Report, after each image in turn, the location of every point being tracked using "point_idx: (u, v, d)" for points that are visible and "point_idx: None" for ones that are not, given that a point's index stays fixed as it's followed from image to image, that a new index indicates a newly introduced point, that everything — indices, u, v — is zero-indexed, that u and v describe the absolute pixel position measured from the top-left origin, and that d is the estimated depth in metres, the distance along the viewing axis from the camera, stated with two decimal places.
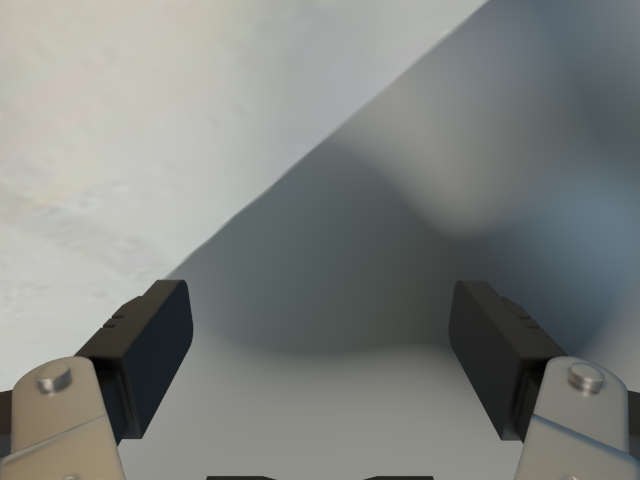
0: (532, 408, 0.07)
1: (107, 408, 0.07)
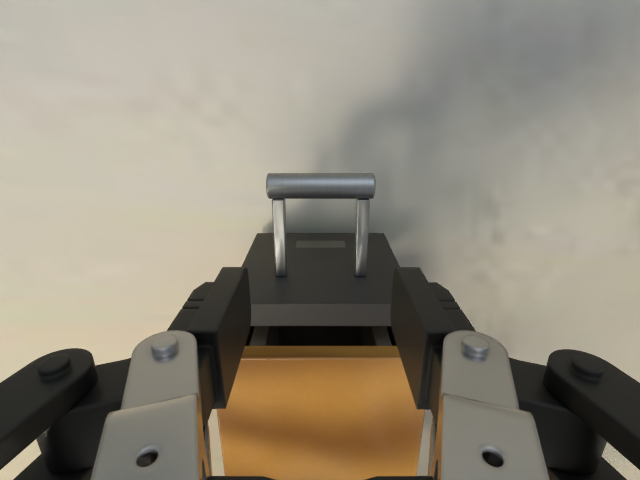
0: (435, 377, 0.08)
1: (205, 377, 0.08)
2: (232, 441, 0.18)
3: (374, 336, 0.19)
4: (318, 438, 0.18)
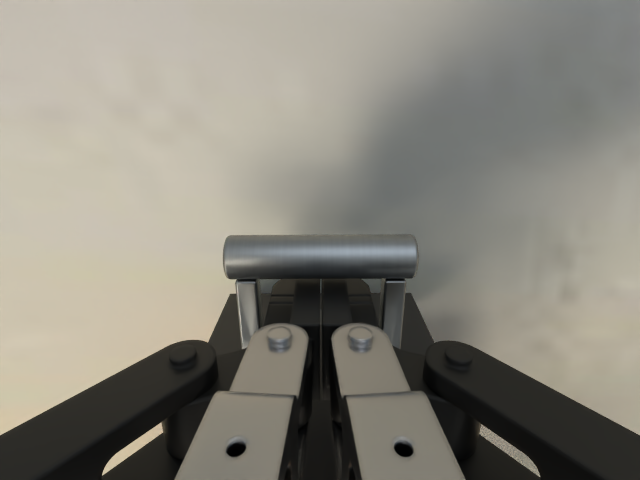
0: (330, 368, 0.08)
1: None
2: None
3: None
4: None
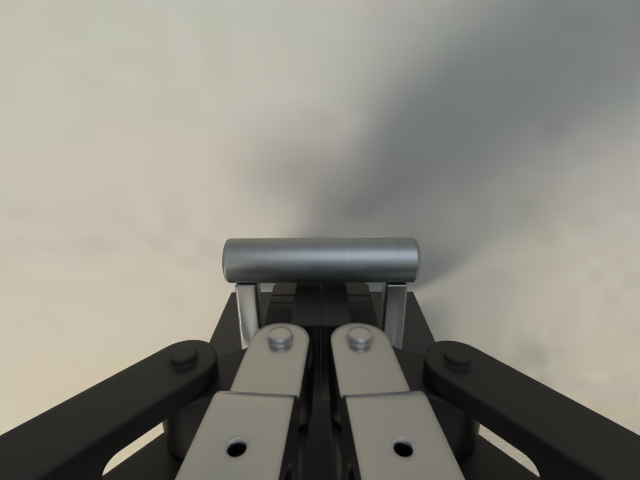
0: None
1: (312, 369, 0.08)
2: None
3: None
4: None
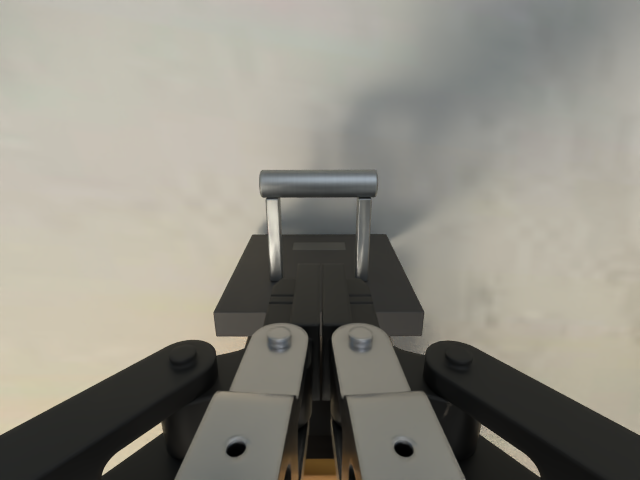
0: None
1: (311, 369, 0.08)
2: None
3: None
4: None
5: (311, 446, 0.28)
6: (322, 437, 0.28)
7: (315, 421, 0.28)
